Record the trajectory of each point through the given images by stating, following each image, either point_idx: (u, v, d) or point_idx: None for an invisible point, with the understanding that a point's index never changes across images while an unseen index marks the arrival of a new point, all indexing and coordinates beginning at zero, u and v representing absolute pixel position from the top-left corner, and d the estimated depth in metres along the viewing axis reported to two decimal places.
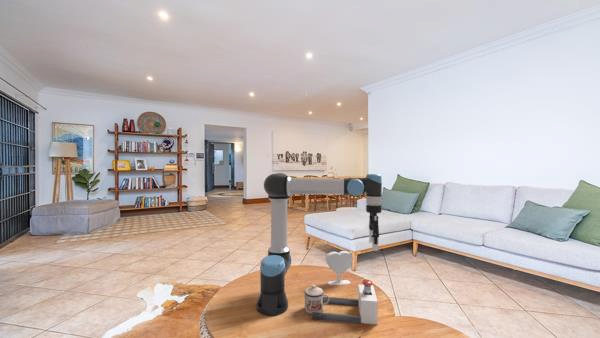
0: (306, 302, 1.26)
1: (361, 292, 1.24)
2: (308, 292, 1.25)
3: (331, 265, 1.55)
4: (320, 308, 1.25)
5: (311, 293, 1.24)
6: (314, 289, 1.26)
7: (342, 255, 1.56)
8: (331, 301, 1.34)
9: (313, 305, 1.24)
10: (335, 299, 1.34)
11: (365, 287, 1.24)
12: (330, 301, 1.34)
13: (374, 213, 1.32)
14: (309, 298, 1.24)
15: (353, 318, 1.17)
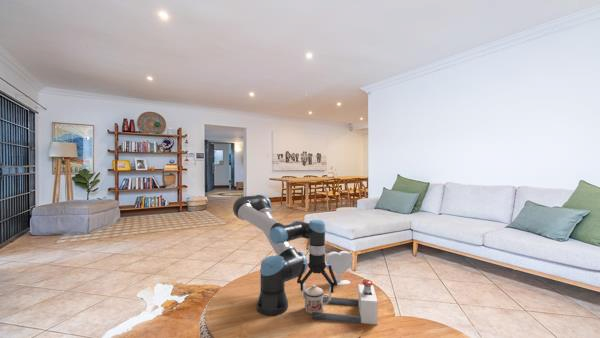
0: (306, 302, 1.26)
1: (361, 292, 1.24)
2: (308, 292, 1.25)
3: None
4: (320, 308, 1.25)
5: (311, 293, 1.24)
6: (314, 289, 1.26)
7: (342, 255, 1.56)
8: (331, 301, 1.34)
9: (313, 305, 1.24)
10: (335, 299, 1.34)
11: (365, 287, 1.24)
12: (330, 301, 1.34)
13: (309, 261, 1.28)
14: (309, 298, 1.24)
15: (353, 318, 1.17)
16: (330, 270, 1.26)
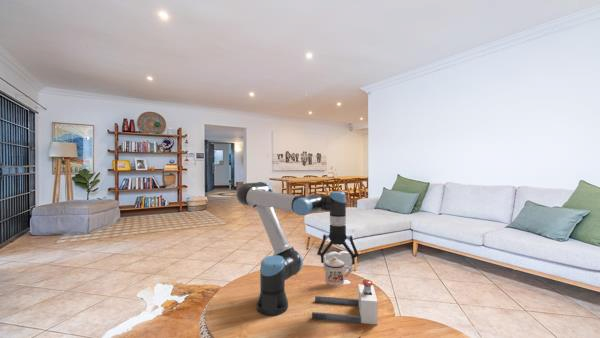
0: (327, 273, 1.24)
1: (361, 292, 1.24)
2: (329, 263, 1.24)
3: None
4: (341, 279, 1.23)
5: (332, 264, 1.23)
6: (335, 261, 1.24)
7: (342, 255, 1.56)
8: (331, 301, 1.34)
9: (335, 276, 1.22)
10: (335, 299, 1.34)
11: (365, 287, 1.24)
12: (330, 301, 1.34)
13: None
14: (330, 269, 1.23)
15: (353, 318, 1.17)
16: (351, 241, 1.24)
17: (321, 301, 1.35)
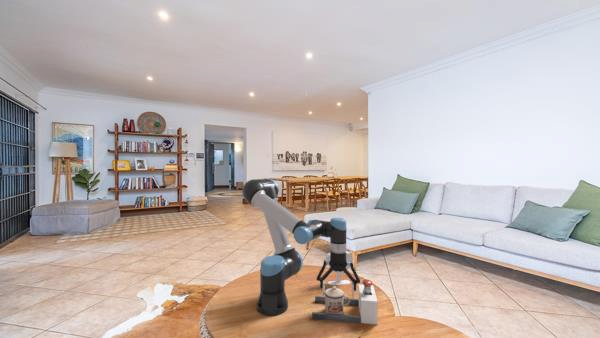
0: (327, 304, 1.24)
1: (361, 292, 1.24)
2: (329, 294, 1.24)
3: None
4: (341, 310, 1.23)
5: (332, 295, 1.23)
6: (335, 291, 1.25)
7: None
8: None
9: (334, 307, 1.22)
10: None
11: (365, 287, 1.24)
12: None
13: (330, 259, 1.27)
14: (330, 299, 1.23)
15: (353, 318, 1.17)
16: (352, 268, 1.24)
17: (321, 301, 1.35)
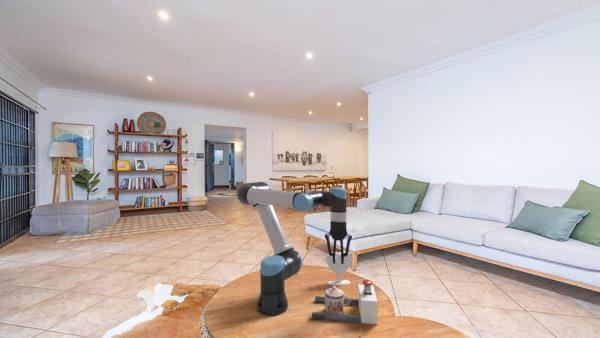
0: (327, 304, 1.24)
1: (361, 292, 1.24)
2: (329, 293, 1.24)
3: (331, 265, 1.55)
4: (341, 310, 1.23)
5: (332, 294, 1.23)
6: (335, 291, 1.25)
7: None
8: None
9: (334, 307, 1.22)
10: None
11: (365, 287, 1.24)
12: None
13: None
14: (330, 299, 1.23)
15: (353, 318, 1.17)
16: (349, 240, 1.24)
17: (321, 301, 1.35)
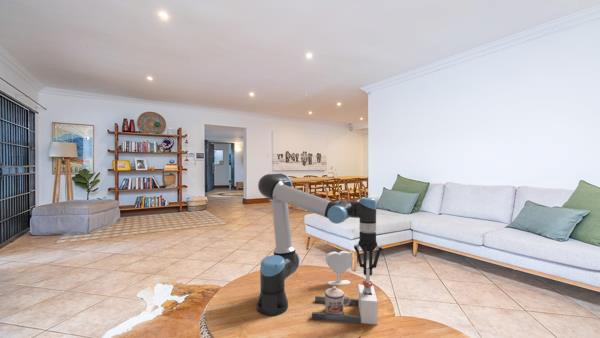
0: (327, 304, 1.24)
1: (361, 292, 1.24)
2: (329, 294, 1.24)
3: (331, 265, 1.55)
4: (341, 310, 1.23)
5: (332, 295, 1.23)
6: (335, 291, 1.25)
7: (342, 255, 1.56)
8: None
9: (334, 307, 1.22)
10: None
11: (365, 288, 1.24)
12: None
13: None
14: (330, 299, 1.23)
15: (353, 318, 1.17)
16: (378, 252, 1.22)
17: (321, 301, 1.35)
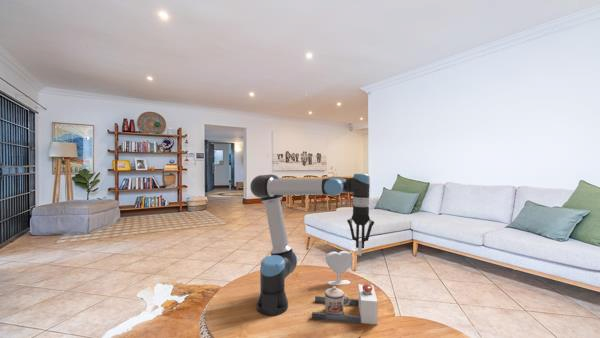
0: (327, 304, 1.24)
1: (361, 292, 1.24)
2: (329, 293, 1.24)
3: (331, 265, 1.55)
4: (341, 310, 1.23)
5: (332, 295, 1.23)
6: (335, 291, 1.25)
7: (342, 255, 1.56)
8: None
9: (334, 307, 1.22)
10: None
11: (365, 292, 1.24)
12: None
13: None
14: (330, 299, 1.23)
15: (353, 318, 1.17)
16: (371, 225, 1.27)
17: (321, 301, 1.35)
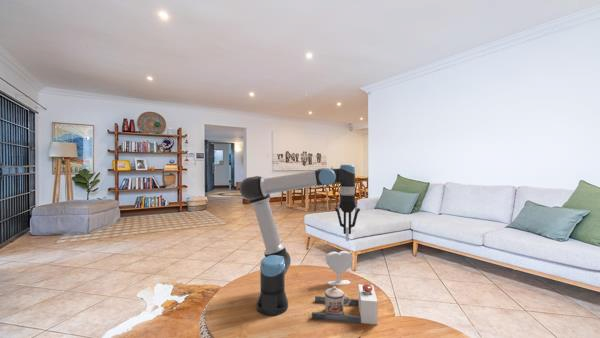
0: (327, 304, 1.24)
1: (361, 292, 1.24)
2: (329, 294, 1.24)
3: (331, 265, 1.55)
4: (341, 310, 1.23)
5: (332, 295, 1.23)
6: (335, 291, 1.25)
7: (342, 255, 1.56)
8: None
9: (334, 307, 1.22)
10: None
11: (365, 292, 1.24)
12: None
13: None
14: (330, 299, 1.23)
15: (353, 318, 1.17)
16: (357, 212, 1.36)
17: (321, 301, 1.35)
